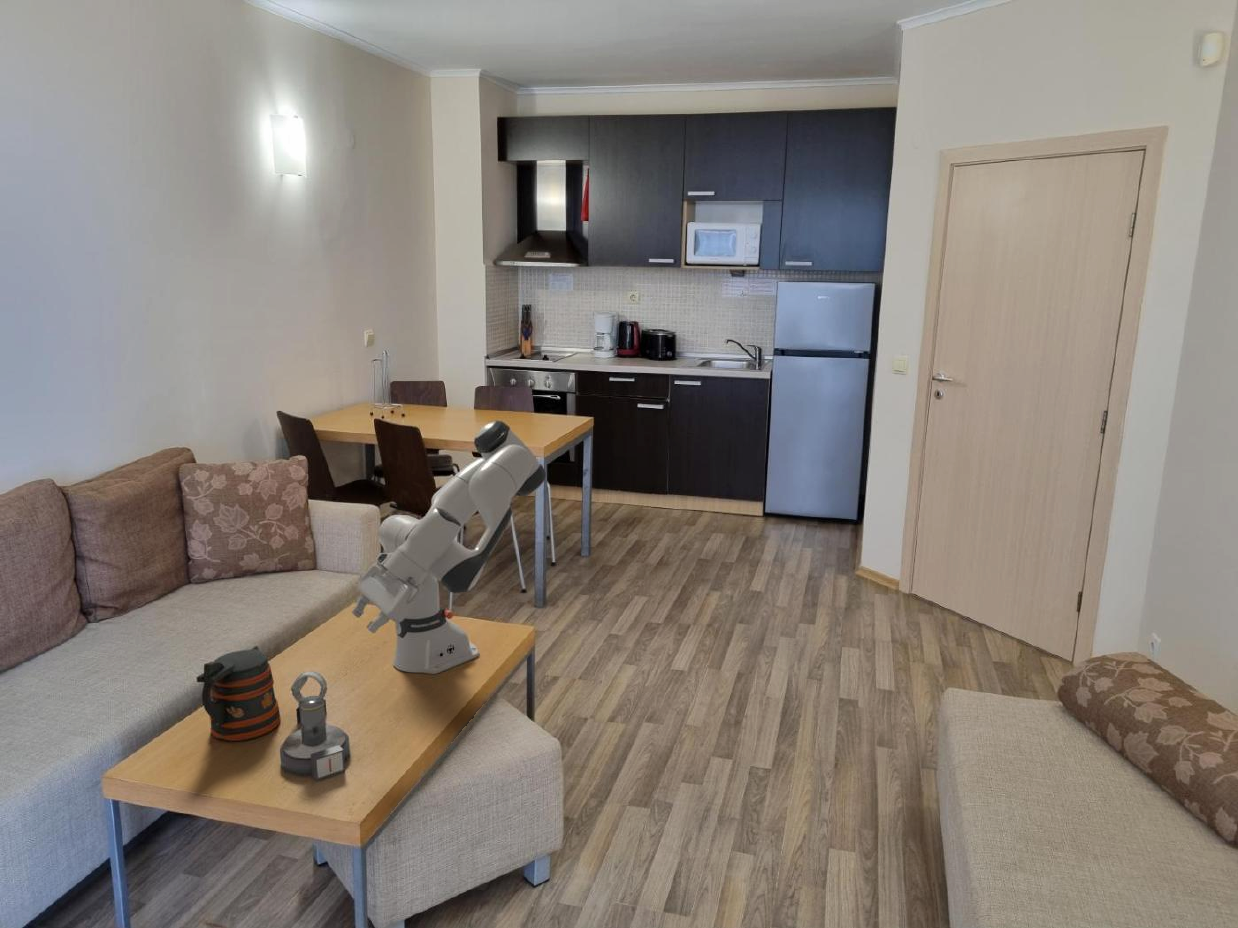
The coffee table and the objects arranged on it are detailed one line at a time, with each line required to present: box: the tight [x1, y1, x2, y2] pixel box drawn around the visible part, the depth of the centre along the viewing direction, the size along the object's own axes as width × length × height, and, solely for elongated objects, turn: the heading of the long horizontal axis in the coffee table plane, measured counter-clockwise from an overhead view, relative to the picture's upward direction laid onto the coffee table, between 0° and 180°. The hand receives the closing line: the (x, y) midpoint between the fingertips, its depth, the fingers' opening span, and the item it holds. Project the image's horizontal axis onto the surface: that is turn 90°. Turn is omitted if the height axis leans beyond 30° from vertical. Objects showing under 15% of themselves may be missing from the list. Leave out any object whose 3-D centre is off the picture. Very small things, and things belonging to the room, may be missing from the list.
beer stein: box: [196, 645, 282, 742], centre depth 196 cm, size 19×15×20 cm
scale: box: [279, 732, 351, 782], centre depth 186 cm, size 14×16×5 cm
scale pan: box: [282, 724, 346, 760], centre depth 187 cm, size 13×13×1 cm
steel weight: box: [298, 695, 327, 746], centre depth 186 cm, size 5×5×9 cm
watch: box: [290, 670, 328, 723], centre depth 203 cm, size 6×8×11 cm
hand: (362, 622), depth 189 cm, fingers open, 8 cm apart
